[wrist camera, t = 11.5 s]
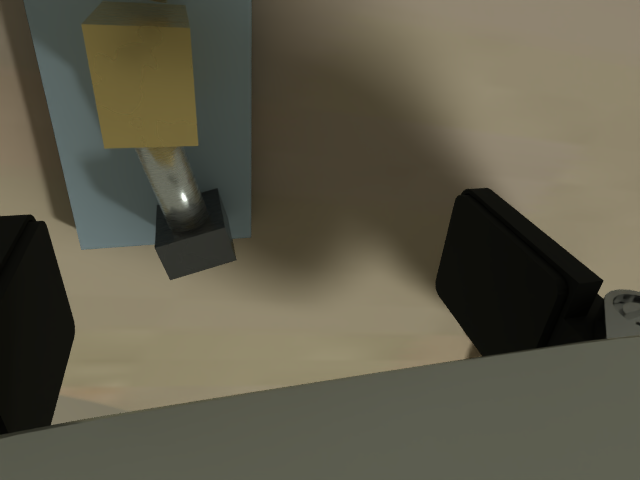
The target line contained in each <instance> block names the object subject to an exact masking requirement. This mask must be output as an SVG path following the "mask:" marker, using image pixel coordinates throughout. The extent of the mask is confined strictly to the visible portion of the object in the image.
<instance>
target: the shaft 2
mask: <svg viewBox="0 0 640 480" xmlns="http://www.w3.org/2000/svg"><path fill="white" fill-rule="evenodd" d="M134 149H135V151H136V153H137V156H138V158H139V160H140V162H141V165H142V167H143V169H144V171H145V174H146V176H147V178H148V180H149V183H150V185H151V187H152V189H153V192H154V194H155V196H156V198H157V201H158V203H159V205H157V210H156V232H155V250H156V252H157V254H158V256H159V258H160V260H161V262H162V264H163V266H164V268H165V270H166V272H167V274H168V276H169V279H170V280H172V279H176V278H179V277H182V276H186V275H189V274H192V273H195V272H199V271H202V270H205V269H209V268H212V267H215V266H219V265H222V264H225V263H228V262H232V261H235V260H236V255H235V250H234V245H233V240H232V235H231V230H230V225H229V220H228V217H227V214H226V211H225V208H224V205H223V202H222V199H221V197H220V194H219V191H218V188H216V189H212V190H209V191H205V192H202V193H201V192H200V190H199V187H198V184H197V182H196V179H195V176H194V174H193V171H192V168H191V166H190V163H189V160H188V158H187V155H186V152H185V150H184V147H183V146H179V147H144V148H134Z"/></svg>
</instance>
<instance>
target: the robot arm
mask: <svg viewBox="0 0 640 480" xmlns="http://www.w3.org/2000/svg"><path fill="white" fill-rule="evenodd" d="M602 283H603V280H602V279H601V278H600V277H598V276H597V275H596V274H595V273H593V272H592V271H591V270H590V269H589V268H587V267H586V266H585V265H584V264H582V263H581V262H580V261H579V260H577V259H576V258H575V257H574V256H572V255H571V254H570V253H569V252H567V251H566V250H565V249H564V248H563V247H561V246H560V245H559V244H558V243H556V242H555V241H554V240H553V239H551V238H550V237H549V236H548V235H546V234H545V233H544V232H543V231H541V230H540V229H539V228H538V227H537V226H535V225H534V224H533V223H532V222H530V221H529V220H528V219H527V218H525V217H524V216H523V215H522V214H520V213H519V212H518V211H517V210H515V209H514V208H513V207H512V206H511V205H509V204H508V203H507V202H506V201H504V200H503V199H502V198H501V197H499V196H498V195H497V194H496V193H494V192H493V191H492V190H491V189H489V188H479V189H466V190H464V191H463V192H462V194H461V195H459V196H457V198H456V200H455V203H454V207H453V211H452V215H451V219H450V224H449V228H448V232H447V236H446V240H445V244H444V249H443V253H442V257H441V261H440V265H439V269H438V273H437V278H436V291H437V293H438V295H439V297H440V298H441V299H442V301H443V302H444V304H445V305H446V306H447V308H448V309H449V310H450V312H451V313H452V315H453V316H454V317H455V319H456V320H457V322H458V323H459V324H460V326H461V327H462V328H463V330H464V331H465V333H466V334H467V335H468V337H469V338H470V340H471V341H472V342H473V344H474V345H475V346H476V348H477V349H478V351H479V352H480V353H481V355H482V356H483V357H476V358H470V359H463V360H456V361H450V362H443V363H437V364H430V365H424V366H417V367H411V368H404V369H398V370H391V371H385V372H378V373H372V374H365V375H359V376H352V377H346V378H340V379H333V380H327V381H320V382H314V383H308V384H301V385H295V386H288V387H282V388H276V389H269V390H263V391H257V392H250V393H244V394H238V395H232V396H225V397H219V398H213V399H207V400H200V401H194V402H188V403H182V404H175V405H169V406H163V407H157V408H150V409H144V410H138V411H132V412H125V413H119V414H113V415H107V416H101V417H94V418H88V419H82V420H77V421H71V422H66V423H61V424H56V425H51V422H52V418H53V415H54V411H55V407H56V403H57V400H58V396H59V392H60V388H61V385H62V381H63V377H64V373H65V370H66V366H67V362H68V359H69V355H70V351H71V347H72V344H73V340H74V335H75V325H74V319H73V316H72V312H71V309H70V305H69V302H68V298H67V295H66V291H65V288H64V284H63V281H62V277H61V274H60V270H59V267H58V263H57V260H56V256H55V253H54V249H53V246H52V242H51V239H50V235H49V232H48V228H47V225H46V223H45V222H44V221H36V220H35V218H34V216H32V215H14V216H0V480H640V292H637V291H632V290H620V289H619V290H614V291H610V292H609V293H607V294H606V295H605V297H604V299H603V298H602V297H601V296H599V295H598V294H597V293H598V291H599V289H600V287H601V285H602Z"/></svg>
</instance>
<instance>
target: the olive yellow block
mask: <svg viewBox="0 0 640 480" xmlns="http://www.w3.org/2000/svg"><path fill="white" fill-rule="evenodd" d="M81 26H82V31H83V37H84V42H85V47H86V53H87V58H88V64H89V69H90V74H91V80H92V85H93V90H94V96H95V101H96V107H97V112H98V117H99V123H100V128H101V134H102V139H103V144H104V149H109V148H144V147H179V146H198V132H197V118H196V104H195V90H194V76H193V62H192V47H191V33H190V25H189V20H188V16H187V11H186V6H185V5H174V4H152V3H131V2H109V1H102V2H101V3H100V4H99V5H98V6H97V8H96V9H95V10H94V11H93V12H92V13H91V14H90V15H89V16H88V17H87V18H86V20H85V21H84V22H83V23H82V24H81Z"/></svg>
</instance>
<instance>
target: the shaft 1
mask: <svg viewBox="0 0 640 480" xmlns="http://www.w3.org/2000/svg"><path fill="white" fill-rule="evenodd" d="M151 1H155V2H160V3H167V0H151Z"/></svg>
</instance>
